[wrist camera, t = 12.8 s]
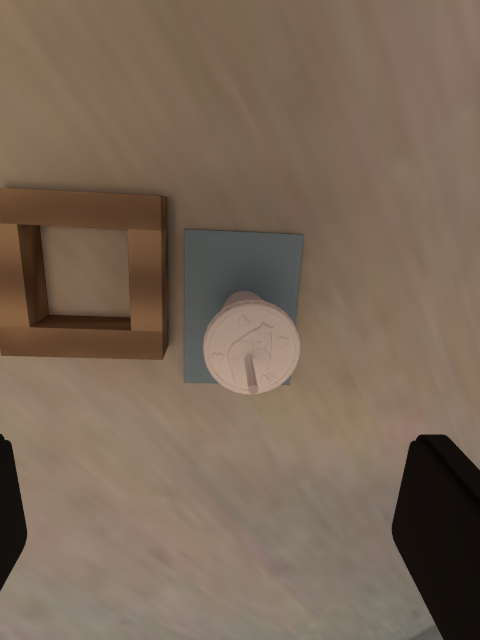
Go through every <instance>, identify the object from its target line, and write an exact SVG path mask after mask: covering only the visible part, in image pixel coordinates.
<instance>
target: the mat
mask: <svg viewBox="0 0 480 640" xmlns="http://www.w3.org/2000/svg"><path fill="white" fill-rule="evenodd" d="M303 239H304V235H303V234H285V233H263V232H242V231H220V230H199V229H185V273H184V383H218V382H217V381H216V380H215V379H214V378H213V376H212V375H211V373H210V372H209V370H208V368H207V366H206V363H205V359H204V350H203V343H204V335H205V332H206V330H207V327H208V325H209V323H210V322H211V321H212V319H213V318H214V316H215V315H216V314H217V313H219V312H220V311H221V309H222V307H223V305H224V303H225V301H226V300H227V298H228V297H229V296H230V295H232V294H233V293H235V292H238V291H250V292H253V293H255V294H256V295H258V296H259V297H260V298H261V299H263V300H264V301H266V302H269V303H271V304H274V305H276V306H277V307H279V308H280V309H282V310H283V311H285V312H286V313H287V315H288V316H289V317H290V318H291V320H292V321H293V323H294V325H295V323H296V312H297V302H298V292H299V281H300V271H301V260H302V250H303ZM281 385H290V376H289V378H288V379H287V380H286V381H285V382H283V383H282V384H281Z"/></svg>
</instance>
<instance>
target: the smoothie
mask: <svg viewBox="0 0 480 640" xmlns="http://www.w3.org/2000/svg"><path fill="white" fill-rule="evenodd" d="M203 350H204V359H205V363H206V366H207V368H208V370H209V372H210V373H211V375H212V376H213V378H214V379H215V380H216V381H217V382H218V383H220V384H221V385H222V386H224V387H225V388H227V389H229V390H231V391H234V392H237V393H242V394H260V393H264V392H267V391H270V390H272V389H274V388H276V387H278V386H279V385H281V384H282V383H283V382H285V381H286V380H287V379H288V378H289V376H290V375H291V374H292V373H293V371H294V369H295V368H296V365H297V363H298V360H299V356H300V340H299V336H298V332H297V330H296V327H295V325H294V323H293V321H292V320H291V318H290V317H289V316H288V315H287V313H286V312H285V311H283V310H282V309H280V308H279V307H277V306H276V305H274V304H271V303H269V302H266V301H264V300H263V299H261V298H260V297H259V296H258V295H256V294H255V293H253V292H250V291H238V292H235V293H233V294H232V295H230V296H229V297H228V298H227V300H226V301H225V303H224V305H223V307H222V309H221V311H220V312H219V313H217V314H216V315H215V316H214V318H213V319H212V321H211V322H210V323H209V325H208V327H207V330H206V332H205V335H204V343H203Z"/></svg>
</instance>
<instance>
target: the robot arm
mask: <svg viewBox="0 0 480 640" xmlns="http://www.w3.org/2000/svg"><path fill="white" fill-rule="evenodd" d="M392 535H393V539H394V542H395V544H396V546H397V548H398V550H399V552H400V554H401V556H402V558H403V560H404V562H405V564H406V566H407V568H408V570H409V572H410V574H411V576H412V578H413V580H414V582H415V584H416V586H417V588H418V590H419V592H420V594H421V596H422V598H423V600H424V602H425V604H426V606H427V608H428V610H429V612H430V614H431V616H432V618H433V620H434V622H435V624H436V626H437V628H438V630H439V632H440V634H441V635H442V637H443V639H444V640H480V470H479V469H478V468H477V467H476V466H475V465H474V464H473V463H472V462H471V460H470V459H469V458H468V457H467V456H466V455H465V454H464V453H463V452H462V451H461V450H460V449H459V448H458V447H457V446H456V445H455V444H454V443H453V441H452V440H451V439H450V438H449V437H447V436H446V435H419V436H418V437H417V438H416V441H412V442H411V443H410V446H409V450H408V455H407V459H406V464H405V468H404V473H403V478H402V482H401V487H400V491H399V496H398V500H397V505H396V509H395V514H394V518H393V523H392ZM26 539H27V528H26V522H25V516H24V511H23V505H22V500H21V494H20V488H19V483H18V477H17V472H16V466H15V460H14V455H13V449H12V445H11V442H10V441H8V440H5V439H4V437H3V435H2V434H0V591H1V589H2V587H3V585H4V583H5V581H6V580H7V578H8V576H9V574H10V572H11V571H12V569H13V567H14V565H15V563H16V561H17V560H18V558H19V556H20V554H21V552H22V550H23V548H24V546H25V543H26Z"/></svg>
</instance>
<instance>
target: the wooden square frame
mask: <svg viewBox="0 0 480 640" xmlns="http://www.w3.org/2000/svg"><path fill="white" fill-rule="evenodd" d="M39 225H46V226H68V227H89V228H111V229H127V234H128V261H129V287H130V313H131V318H124V317H93V316H62V315H49V312H48V303H47V293H46V284H45V274H44V265H43V255H42V245H41V236H40V226H39ZM167 347H168V233H167V197H165V196H154V195H134V194H115V193H95V192H76V191H56V190H37V189H18V188H0V350H1V356H36V357H74V358H112V359H151V360H163V358H164V355H165V352H166V350H167Z"/></svg>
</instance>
